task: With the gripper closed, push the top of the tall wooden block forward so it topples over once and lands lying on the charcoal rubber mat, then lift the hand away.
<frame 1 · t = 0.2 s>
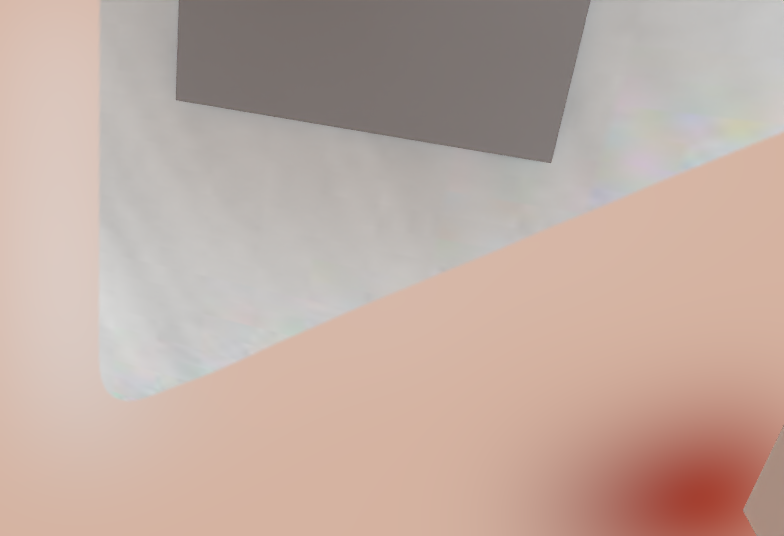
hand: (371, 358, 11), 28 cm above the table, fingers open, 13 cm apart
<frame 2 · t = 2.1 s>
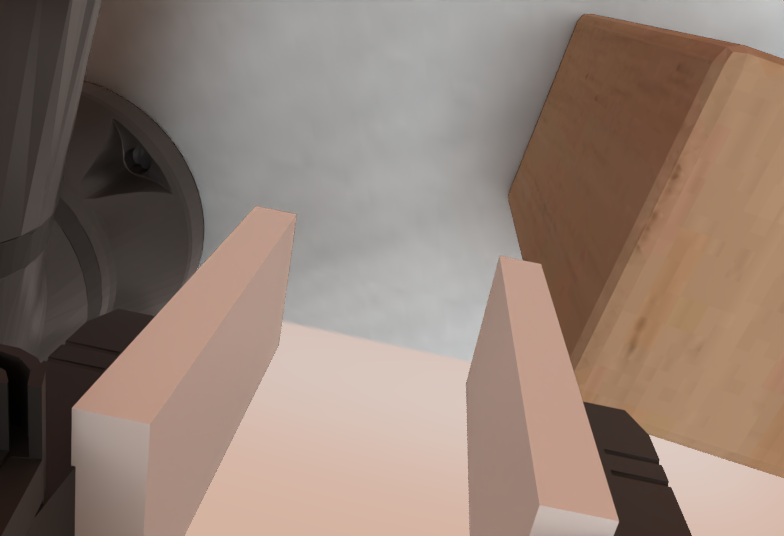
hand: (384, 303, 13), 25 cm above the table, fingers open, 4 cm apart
wooden block: (632, 141, 36), on the table
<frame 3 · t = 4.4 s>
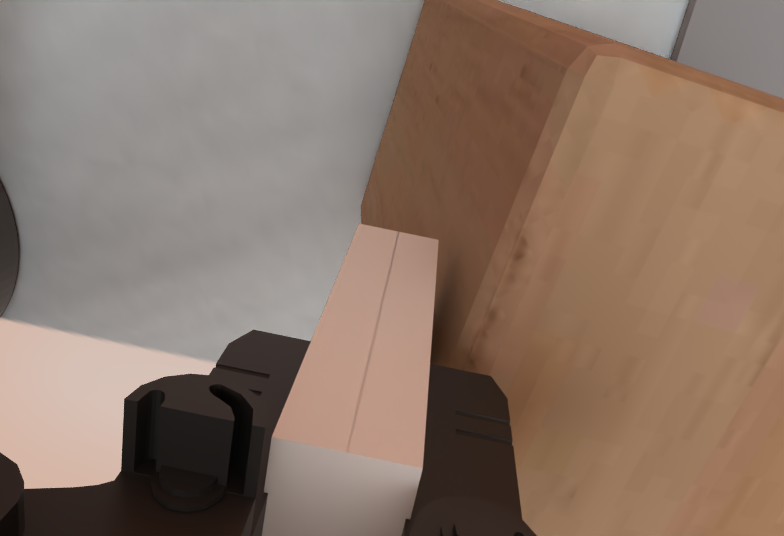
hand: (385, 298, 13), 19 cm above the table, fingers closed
wooden block: (502, 136, 30), on the table
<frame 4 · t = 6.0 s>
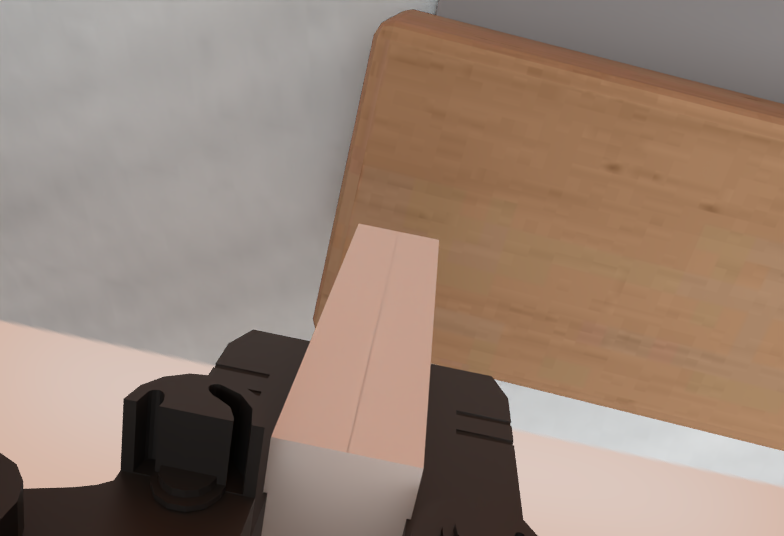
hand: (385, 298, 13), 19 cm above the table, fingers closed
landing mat: (591, 154, 30), on the table
wooden block: (354, 153, 25), point 6 cm above the table, touching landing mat
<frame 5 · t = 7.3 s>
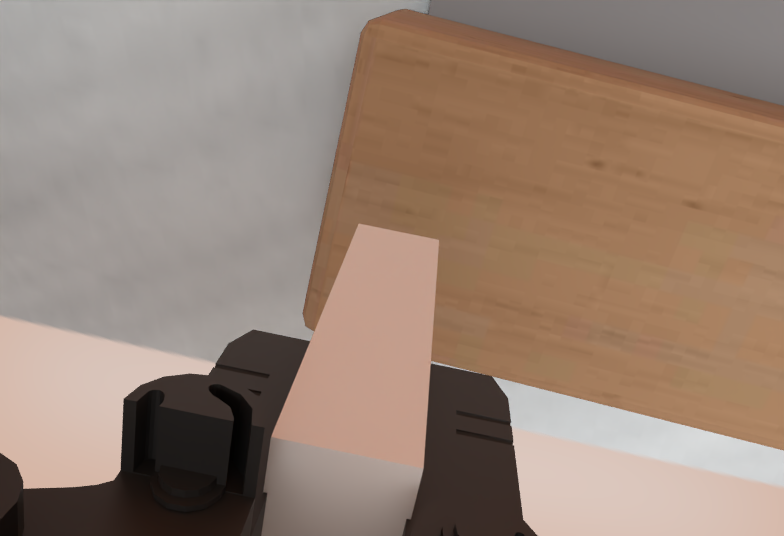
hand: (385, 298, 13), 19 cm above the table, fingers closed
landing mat: (583, 153, 31), on the table
wooden block: (345, 150, 26), point 6 cm above the table, touching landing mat
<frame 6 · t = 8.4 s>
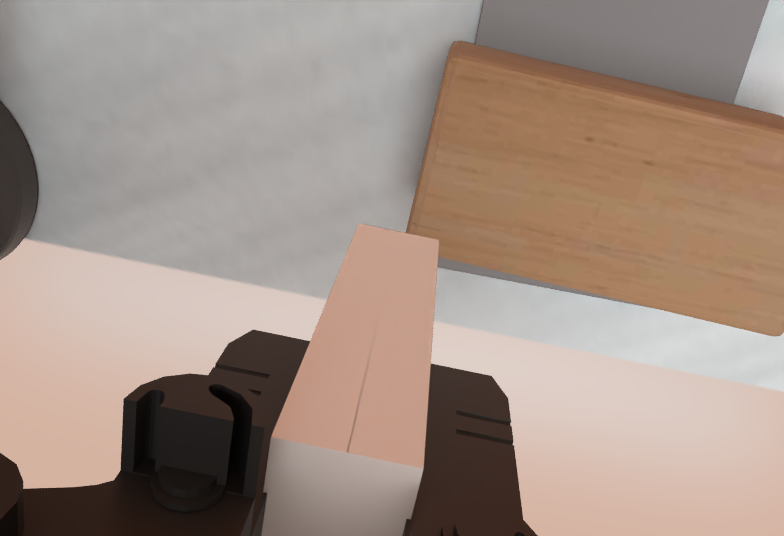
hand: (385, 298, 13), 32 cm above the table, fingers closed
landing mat: (583, 137, 44), on the table
wooden block: (425, 136, 39), point 6 cm above the table, touching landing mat
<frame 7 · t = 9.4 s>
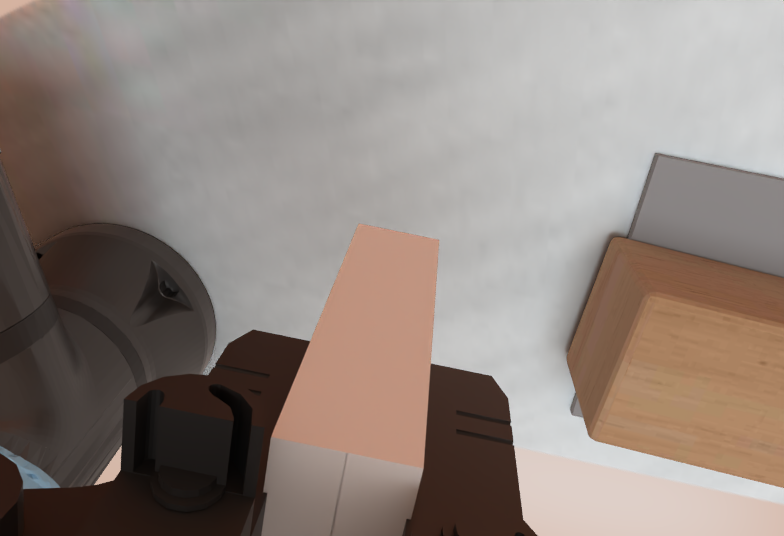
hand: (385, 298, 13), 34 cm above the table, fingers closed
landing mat: (718, 313, 49), on the table
wooden block: (596, 330, 44), point 6 cm above the table, touching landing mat
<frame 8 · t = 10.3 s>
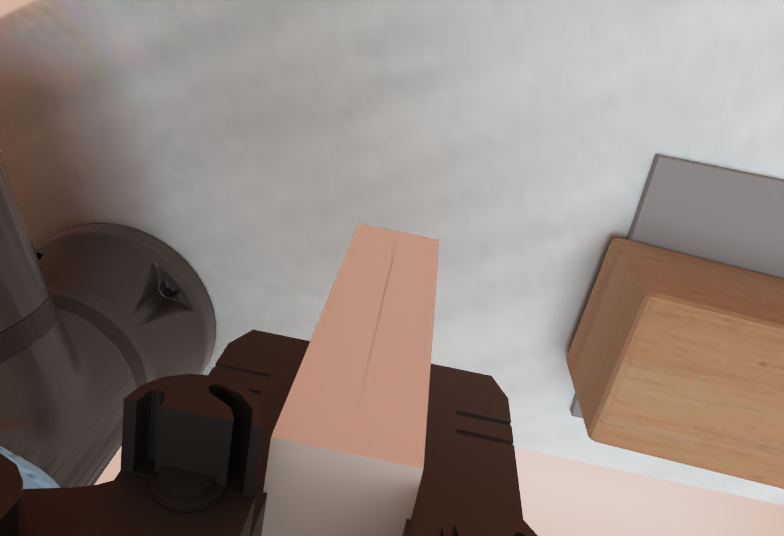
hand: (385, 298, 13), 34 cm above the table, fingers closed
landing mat: (718, 313, 49), on the table
wooden block: (596, 331, 44), point 6 cm above the table, touching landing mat
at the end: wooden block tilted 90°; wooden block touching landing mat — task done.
